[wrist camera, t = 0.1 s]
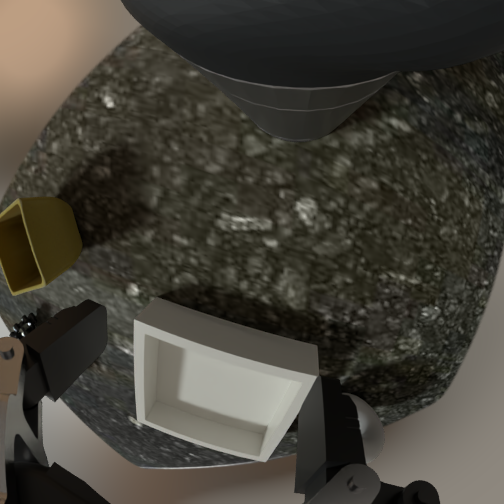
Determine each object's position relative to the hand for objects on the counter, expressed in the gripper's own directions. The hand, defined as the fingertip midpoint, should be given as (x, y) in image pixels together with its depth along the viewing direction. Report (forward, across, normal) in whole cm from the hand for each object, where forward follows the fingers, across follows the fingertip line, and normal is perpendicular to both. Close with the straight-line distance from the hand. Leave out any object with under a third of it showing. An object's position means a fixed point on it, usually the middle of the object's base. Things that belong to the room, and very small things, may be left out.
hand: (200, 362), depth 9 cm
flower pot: (+18, +23, +5) cm, 30 cm away
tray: (+18, 0, +18) cm, 25 cm away
